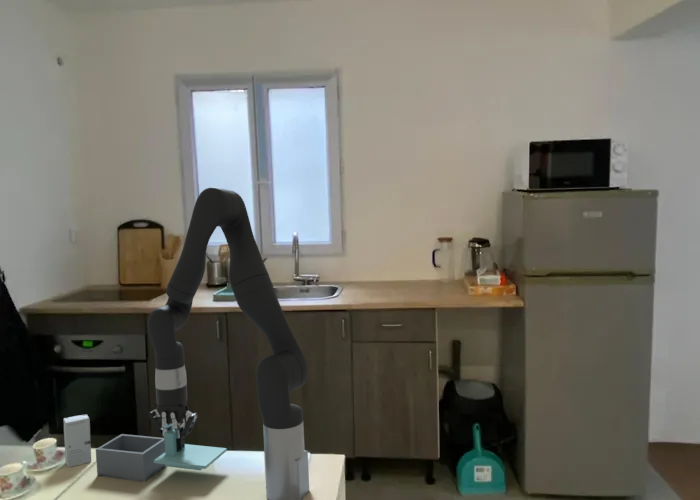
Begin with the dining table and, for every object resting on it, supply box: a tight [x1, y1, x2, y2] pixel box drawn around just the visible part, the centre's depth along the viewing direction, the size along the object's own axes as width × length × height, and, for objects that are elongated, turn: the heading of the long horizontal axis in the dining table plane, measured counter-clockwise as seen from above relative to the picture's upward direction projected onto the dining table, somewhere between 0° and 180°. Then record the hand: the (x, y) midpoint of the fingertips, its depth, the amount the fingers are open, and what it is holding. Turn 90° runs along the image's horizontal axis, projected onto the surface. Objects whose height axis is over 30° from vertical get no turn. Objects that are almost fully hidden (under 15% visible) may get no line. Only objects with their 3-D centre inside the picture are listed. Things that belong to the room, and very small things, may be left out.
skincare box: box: [63, 413, 92, 468], centre depth 156 cm, size 6×4×12 cm
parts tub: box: [95, 433, 166, 483], centre depth 150 cm, size 14×10×7 cm
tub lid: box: [154, 427, 227, 471], centre depth 146 cm, size 14×10×8 cm
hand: (174, 450), depth 147 cm, fingers closed on tub lid
